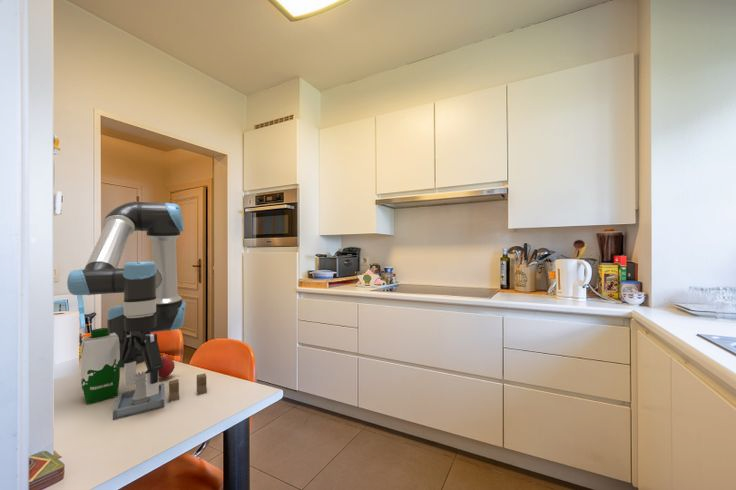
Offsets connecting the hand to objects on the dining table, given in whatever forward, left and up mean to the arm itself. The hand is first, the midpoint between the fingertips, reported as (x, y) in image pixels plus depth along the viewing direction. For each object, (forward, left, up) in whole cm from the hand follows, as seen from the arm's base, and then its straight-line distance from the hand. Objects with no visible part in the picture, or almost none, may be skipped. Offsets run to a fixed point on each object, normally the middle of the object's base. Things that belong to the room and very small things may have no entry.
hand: (141, 389), depth 88 cm
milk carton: (-13, -10, -4) cm, 17 cm away
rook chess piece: (0, 0, -4) cm, 4 cm away
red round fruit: (-18, +6, -4) cm, 19 cm away
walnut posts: (+2, +12, -4) cm, 12 cm away
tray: (0, 0, -4) cm, 4 cm away
